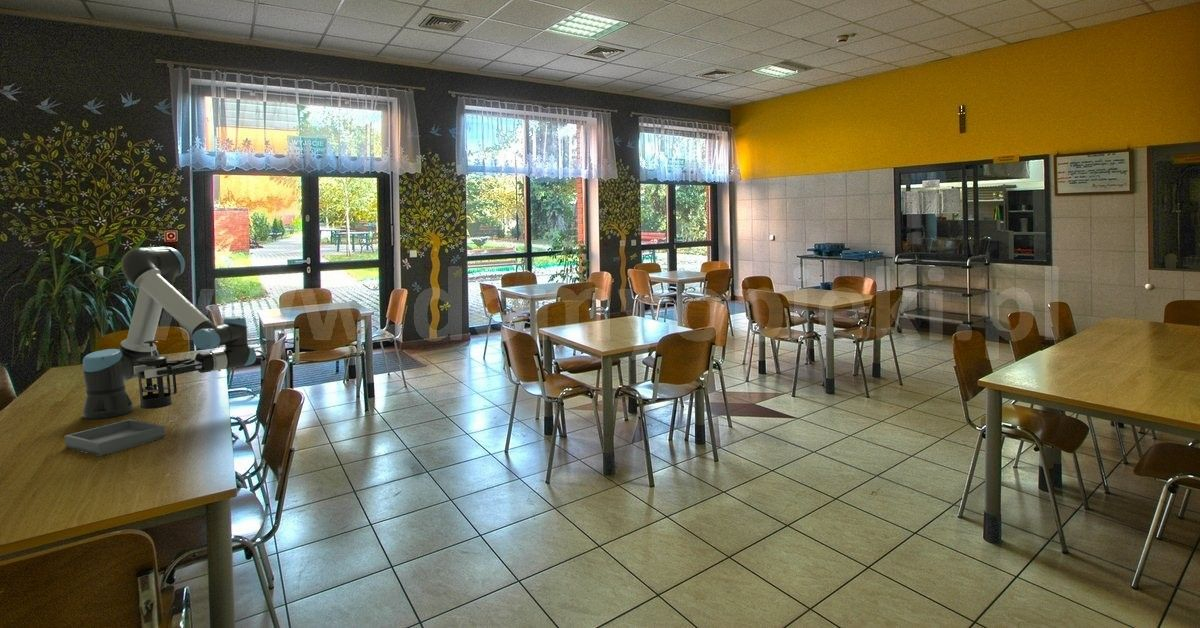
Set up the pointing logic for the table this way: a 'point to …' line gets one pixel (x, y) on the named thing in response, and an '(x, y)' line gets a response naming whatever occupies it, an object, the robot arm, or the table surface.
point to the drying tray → (114, 437)
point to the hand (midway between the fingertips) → (139, 372)
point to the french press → (152, 398)
